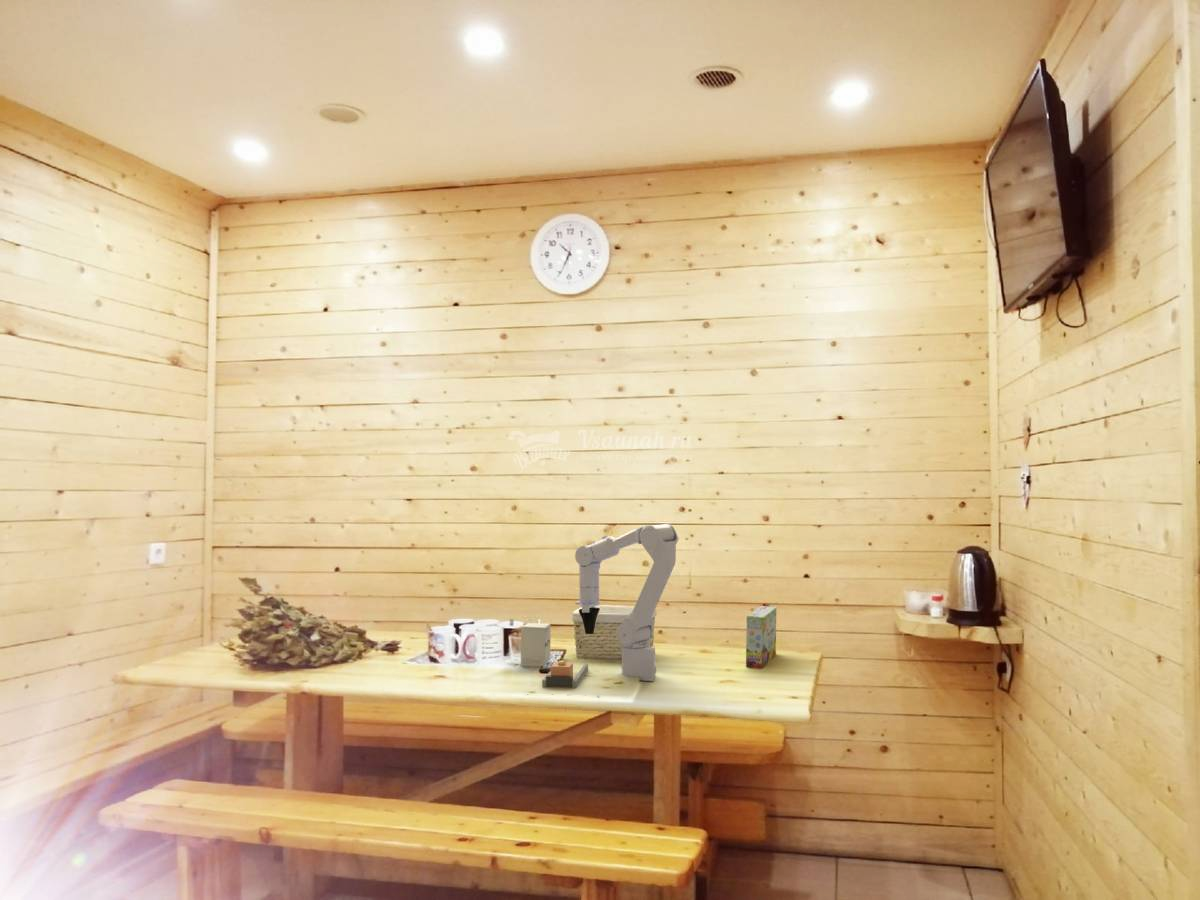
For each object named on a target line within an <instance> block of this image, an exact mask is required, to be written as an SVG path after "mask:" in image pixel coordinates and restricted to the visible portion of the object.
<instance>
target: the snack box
mask: <svg viewBox="0 0 1200 900" xmlns="http://www.w3.org/2000/svg"><path fill="white" fill-rule="evenodd" d="M745 639H746V646H745V647H746V648H745V649H746V651H745V653H746V654H745V658H746V659H745V667H747V668H755V669H763V668H764V667H765V666H767V664H768V663H769V662H770V661H771V660H772V659H773V658H774V657H775V656H776V655H777V607H776V606H768V605H767V606H765V605H764V606H763V605H760V606H759V607H758V608H756V609H755V610H753V611H752V612H751V613H749V614H748V615H746V637H745Z"/></svg>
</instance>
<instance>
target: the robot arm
mask: <svg viewBox="0 0 1200 900" xmlns="http://www.w3.org/2000/svg"><path fill="white" fill-rule="evenodd" d="M601 538H602V539H599V540H597V541H591V542H590V544H589V545H580V546H579V547H578V548H576V551H575V554H574V555H575V556H574V559H575V561H576V562H577V564H578V565H579V567H578V568H579V569H578V570H579V573H578V574H579V581H578V582H579V585H578V586H579V600H577V601H575V605H579V606H580V608H581V607H582V609H579V608H578V609H579V613H580V615H581V617H582V620H583V624H584V629H585V633H586V634H593V632H594V628H595V622H596V618H597V615H598V612H599V610H600V608H594V606H598V605H601V601H600V569H601V563H602V561H605V560H607V559H610V558H612V557H615V556H617V555H618V554H619V553H620V551H621V549H623V548H627V547H629V546H632V545H636V544H638V545H642V546H643V548H644V550H645V551H646V552H647V554H648V555H649V556H650V558H651V559H652V561H653V563H652V565H651V568H650V571H649V573H648V575H647V577H646V580H645V582H644V584H643V587H642V589H641V591H640V593H639V595H638V598H637V600H636V603H635V605H634V606H635V607H634V609H633V611H632V612H631V613H630V614H629V615H628V616H627V617H626V618H625V620H624V622H623V623H622V624H621V625H619V627H618V628H617V631H616V636H617V640H618V641H619V643H620V644H621V647H622V660H621V674H622V675H624V676H627V677H639V679H638V680H639V681H641V682H654V679H655V677H656V673H657V667H656V646H655V645H653V646H648V640H649V639H650V638H651V637H652V633H653V625H654V626H655V623H654V620H653V619H652V615H653V613H654V610H655V608H656V609H657V605H658V603H659V602H660V599H661V596H662V594H663V592H664V590H665V587H666V585H667V583H668V581H669V578H670V576H671V574H672V571H673V569H674V567H675V565H676V559H677V558H676V557H677V556H676V554H677V552H676V551H677V543H678V541H679V536H678V534H677V531H676V529H675V528H674V526H673V525H672V524H669V523H663V524H655V525H651V524H647V525H644V526H641V527H637V528H634V529H633V530H631V531H629V532H626V533H624V534H622V535H620V536H617V537H614V536H611V535H603V536H602V537H601Z"/></svg>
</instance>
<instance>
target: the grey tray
mask: <svg viewBox="0 0 1200 900" xmlns="http://www.w3.org/2000/svg"><path fill="white" fill-rule="evenodd" d="M588 671H589V664H588V663H584V664H583V666H582V667H581V669H580V670H579V671H578V672H577V674H576V675H575V676H574V675H573V676H559V675H551V670H550V671H549V672H548V673H547V674H546V675H545V676H544V678H543V679H542V680H541V681H542V682H541V684H542V685H541V686H542V688H559V689H560V688H564V689H567V688H568V689H577V688H578V687H579V684H580V683H581V681H582V680H583V679H584V677H585V676H586V674H587V673H588Z"/></svg>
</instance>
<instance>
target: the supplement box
mask: <svg viewBox="0 0 1200 900" xmlns="http://www.w3.org/2000/svg"><path fill="white" fill-rule="evenodd" d="M549 660H550V661H551V623H546V622H545V623H543V622H542V623H541V622H539V623H538V622H527V623H525V624H524V625H523V626H521V627H520V667H532V668H534V667H536V668H537V667H539V668H542V667H541V666H545V665H546V664H547V663H548V661H549ZM548 664H549V663H548ZM548 664H547V665H548ZM547 665H546V666H547ZM546 666H545V667H546Z"/></svg>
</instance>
